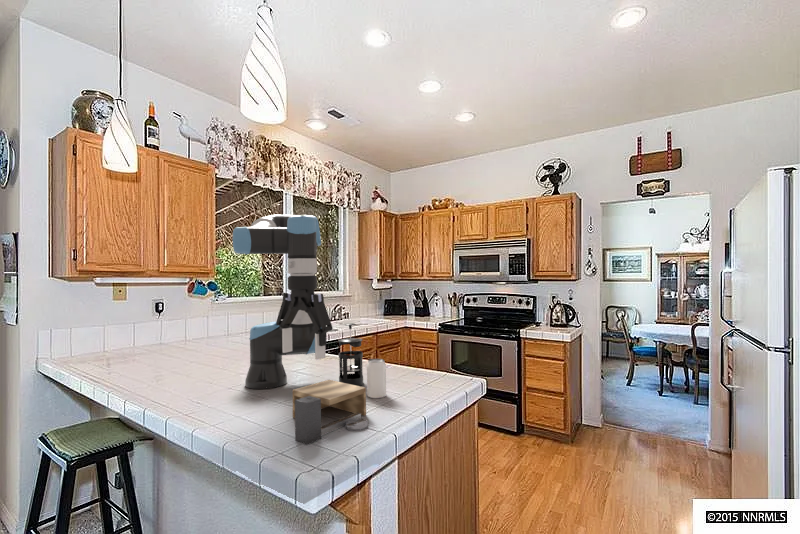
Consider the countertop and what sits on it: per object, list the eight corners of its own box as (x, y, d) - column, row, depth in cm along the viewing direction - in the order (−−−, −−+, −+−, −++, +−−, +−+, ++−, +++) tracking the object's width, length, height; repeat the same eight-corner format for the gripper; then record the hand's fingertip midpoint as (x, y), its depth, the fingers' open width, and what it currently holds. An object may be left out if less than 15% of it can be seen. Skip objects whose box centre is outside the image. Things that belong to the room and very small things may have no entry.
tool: (295, 440, 101) (294, 400, 101) (353, 416, 117) (352, 382, 117) (307, 444, 98) (306, 403, 98) (364, 420, 114) (364, 384, 114)
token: (341, 428, 109) (340, 423, 109) (357, 422, 114) (357, 417, 114) (356, 433, 105) (356, 428, 105) (372, 426, 110) (372, 421, 110)
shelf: (292, 417, 117) (292, 389, 117) (329, 404, 128) (328, 379, 128) (330, 429, 107) (329, 399, 108) (366, 415, 118) (365, 387, 118)
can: (383, 399, 133) (383, 362, 134) (365, 398, 135) (364, 362, 135) (388, 393, 140) (387, 358, 140) (370, 392, 141) (369, 358, 141)
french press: (355, 390, 144) (354, 325, 145) (332, 387, 148) (331, 324, 148) (370, 382, 155) (369, 322, 156) (348, 379, 159) (347, 321, 159)
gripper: (262, 275, 112) (263, 351, 112) (323, 275, 96) (324, 364, 96) (285, 274, 118) (286, 347, 118) (345, 274, 102) (346, 358, 102)
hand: (303, 355), depth 107 cm, fingers open, 13 cm apart
